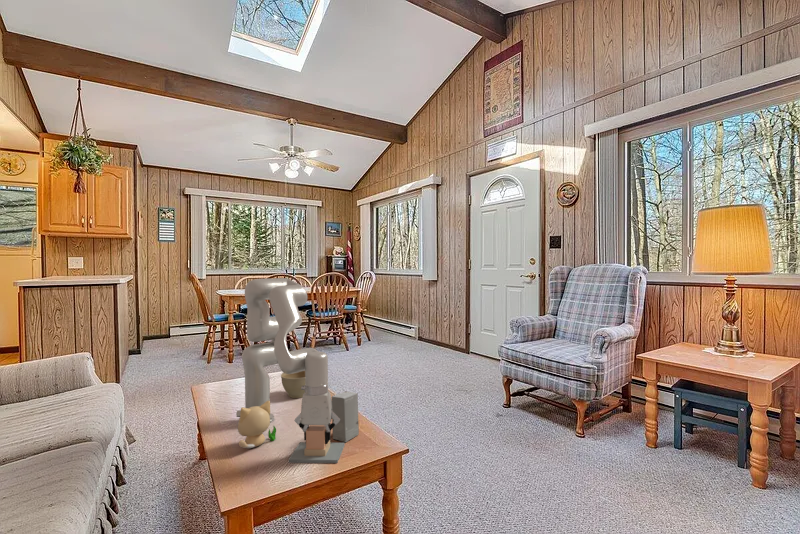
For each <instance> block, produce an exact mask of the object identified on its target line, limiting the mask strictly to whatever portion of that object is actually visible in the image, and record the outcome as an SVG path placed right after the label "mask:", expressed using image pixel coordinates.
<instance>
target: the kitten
mask: <svg viewBox="0 0 800 534" xmlns="http://www.w3.org/2000/svg"><path fill="white" fill-rule="evenodd" d="M240 410H241V412H240V417H238V423H237V432H238V434H239V435H240V436H242V437H245V440H244V439H241V440H239V442H238V446H239V447H240V448H244V449H252V448H255V447H259V446H261V445H262V444H264V443H265V441H266V437H265V435H264V432H265V431H267V430H268V435H267V437H268V439H269V440H270V441H269V442H274V441H276V433H277V429H276V426H275V425H274V424H273V429H272V431H271V428H270V424H271V423H270V413H271V400H270V401H266V402H265V403H264V404H262V405H261V406H254V407H250V408H245V407H241V408H240ZM265 433H266V432H265Z"/></svg>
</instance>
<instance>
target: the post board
mask: <svg viewBox="0 0 800 534" xmlns="http://www.w3.org/2000/svg"><path fill="white" fill-rule="evenodd" d="M345 445H346V443H345V442H331V439H330V440H329V442H328V444H327V445H326V447H325V448H324V449H306V441H300V442H299V443H298V444H297V446H296V447H295V449H294V450H293V452H292V454H291V455H290V457H289V458H288V463H292V464H293V463H295V464H296V463H299V464H303V463H305V464H338V462H339V460H340V458H341V455H342V453H343V450H344V448H345Z"/></svg>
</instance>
